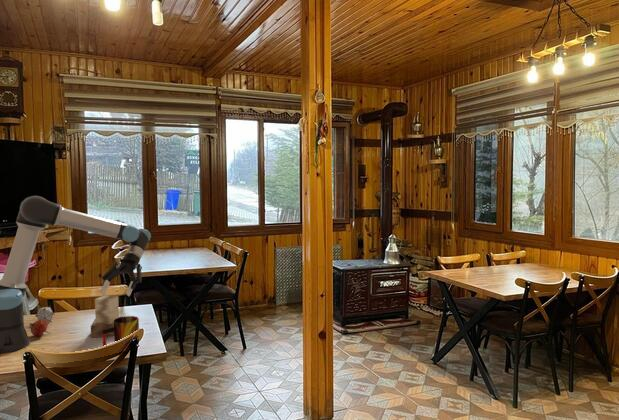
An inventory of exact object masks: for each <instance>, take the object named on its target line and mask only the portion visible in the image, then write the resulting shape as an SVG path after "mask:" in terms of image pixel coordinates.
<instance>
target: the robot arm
mask: <svg viewBox="0 0 619 420" xmlns="http://www.w3.org/2000/svg"><path fill="white" fill-rule="evenodd" d="M15 223H16V225H17V226H18V227H17V230H16V235H15V237H14V240H13V243H12V246H11V250H10V252H9V256H8V259H7V263H6V266H5V269H4V272H3V275H2V278H1V279H0V352H3V353H7V352H6V351H10V352H14V351H13V350H15V351H18V350H21V349H23V348H22V347H24V348H26V347H27V346H29V345H30V337H29V335H28V333H27V331H26V328H25V325H24V324H25V322H24V320H25V319H24V301H23V300H24V297H25V293H26V291H27V287H28V286H27V285H26V283H25V281H26V277H27V274H28V271H29V268H30V264H31V261H32V257H33V255H34V251H35V249H36V245H37V243H38V238H39V235H40V233H41V231H43V230H45V229H46V226H47V225H48V226H51V227H52V226H53V227H55V226H57V225H58V226H63V227H67V228H71V229H76V230H81V231H84V232H89V233H93V234H97V235H101V236H105V237H110V238H112V239H113V238H115V239H118V240H122V241H124V242H126V243H128V244H129V246H128V248H127V249H126V252H125V255H124V256H123V258H122V260H121V261H122V262H121V263H120V264H119V263H118V262H115V263H114V265H113V266H112V267H111V268H110V269H109V270H108V271H107V272H106V273H105V274H104V275H102V276H101V279H102V280H103V283H102V284H101V289H100V290H99V293H100V294H101V295H102V296H103V295H106V294H105V293H106V292H107V289H108V288H109V286H110V283H111V282H112V281H113V280H114V279H116V278H117V277H118V276H120V275H123V274H128V275H129V274H130V277H131V279H132V280H131V281H130V283H129V286H128V287H127V289H126V291H125V295H127V297H130V296H131V294H132V291H133V290H135V288H136V287H137V284H141V283H143V282H142V281H143V280H142V269H143V266H142V265H141V264H140V261H141V259H142V257H143V255H144V252H145V250H146V249H147V246H148V245H149V243H150V240H151V238H152V234H151V232H150V231H149V230H148V229H144V228H137V227H136V226H135V225H131V224H128V223H126V222H125V221H123V220H122V219H115V221H114V220H111V219H108V218H104V217H100V216H95V215H92V214H88V213H83V212H80V211H76V210H72V209H69V208H65V207H63V206H62V205H61V204H58V203H55V202H52V201H49V200H47V199H46V198H44V197H43V196H39V195H31V196H27V197H25V198H24V199H23V200H22V201H21V203H20V205H19V211H18V215H17V217H16V221H15ZM135 270H136V275H135ZM25 346H26V347H25ZM20 348H21V349H20ZM17 349H18V350H17Z"/></svg>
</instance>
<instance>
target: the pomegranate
mask: <svg viewBox="0 0 619 420" xmlns="http://www.w3.org/2000/svg"><path fill="white" fill-rule="evenodd" d="M48 322H49V321H48ZM48 322H47V321H45V320H38V319H37V320H36V321H35V322H33V323H29V325H31V326H30V332H31V334H32V335H33V336H34V337H36V338H37V337H38V338H40V337H42V336H43V335H44V333H48V334H50V335H51V332H49V331H47V330H48V327H49V326H48V325H49V323H48Z"/></svg>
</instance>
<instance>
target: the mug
mask: <svg viewBox="0 0 619 420" xmlns="http://www.w3.org/2000/svg"><path fill="white" fill-rule="evenodd" d="M119 317H120V316H119ZM139 318H140V317H138V316H133V315H130V316H129V315H126V316H123V317H120V318H117V319H115V320H114V327H112V328H108V329H104V330H102V331H103V338H102V347H103V346H104V345H106V346H107V337H106V333H110V332H114V337H113V338H114V339H113V340H114V342H115V341H118V340H120V339H122V338H124V337H126V336H128V335H130V334H131V333H133V332H134V331H136V330H138V329H139V328H140V323H139V321H140V320H139ZM139 330H140V329H139Z"/></svg>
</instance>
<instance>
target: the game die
mask: <svg viewBox="0 0 619 420" xmlns="http://www.w3.org/2000/svg"><path fill="white" fill-rule="evenodd" d="M54 315H55V312H54V311H53V310H52V305H49V306H45V307H44V306H43V307H40V306H38V311H37V313H36V314H35V315H34V317H36V318H37V321H38V320H45V321H47V322H50V323H52V319H53V316H54Z"/></svg>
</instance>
